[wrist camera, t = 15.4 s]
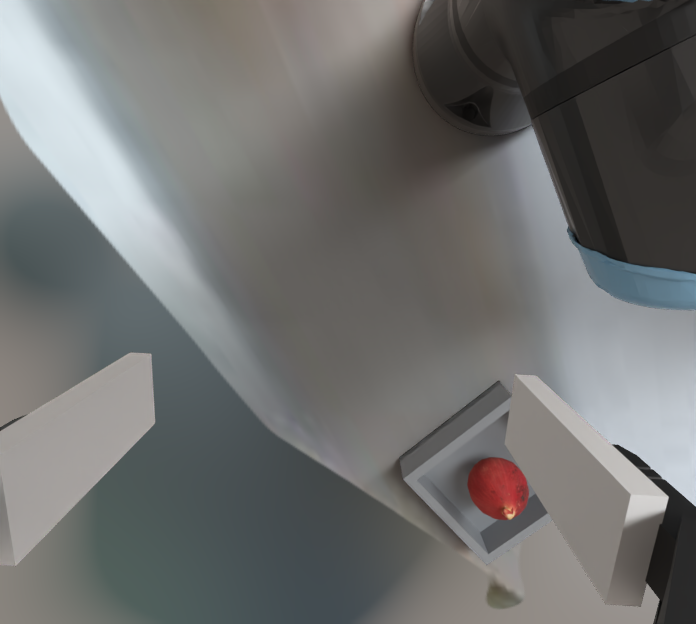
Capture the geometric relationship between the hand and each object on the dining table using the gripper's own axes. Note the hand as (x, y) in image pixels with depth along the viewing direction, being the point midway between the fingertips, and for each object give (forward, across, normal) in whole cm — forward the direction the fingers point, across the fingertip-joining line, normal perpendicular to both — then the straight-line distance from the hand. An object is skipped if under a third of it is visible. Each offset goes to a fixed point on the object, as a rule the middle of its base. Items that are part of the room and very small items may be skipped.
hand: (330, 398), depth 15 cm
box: (+29, +17, -20) cm, 39 cm away
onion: (+28, +16, -20) cm, 38 cm away
